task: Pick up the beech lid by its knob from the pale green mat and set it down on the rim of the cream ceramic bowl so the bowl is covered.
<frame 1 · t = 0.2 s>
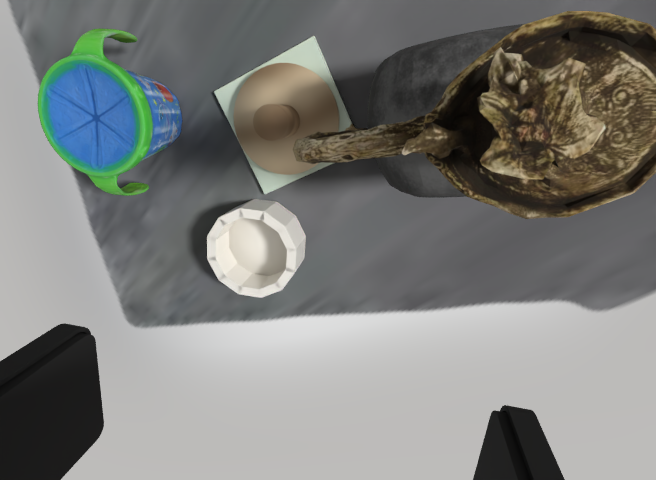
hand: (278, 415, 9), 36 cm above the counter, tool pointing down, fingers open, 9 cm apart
bowl: (263, 241, 48), on the counter
lid: (287, 120, 43), point 1 cm above the counter, touching mat
snack cup: (155, 115, 46), on the counter
mat: (289, 120, 43), on the counter
pitcher: (436, 116, 41), on the counter
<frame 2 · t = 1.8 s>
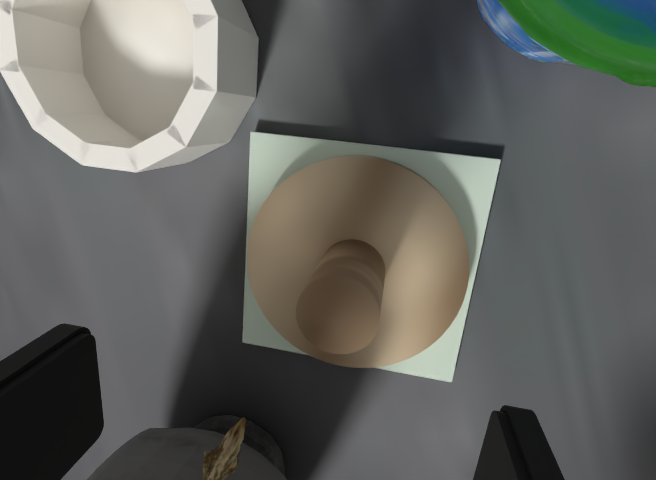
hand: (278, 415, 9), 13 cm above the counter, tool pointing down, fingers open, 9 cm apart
bowl: (163, 60, 21), on the counter
lid: (355, 262, 21), point 1 cm above the counter, touching mat
mat: (356, 258, 22), on the counter
pitcher: (242, 441, 27), on the counter
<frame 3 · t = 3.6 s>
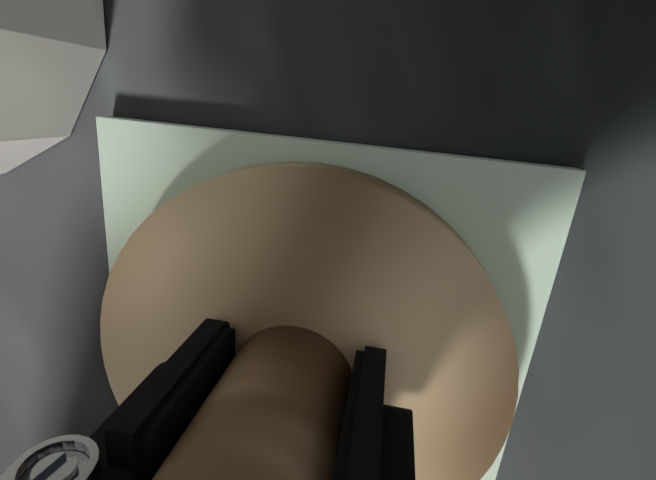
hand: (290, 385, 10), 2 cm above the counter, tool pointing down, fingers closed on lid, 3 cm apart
lid: (303, 354, 12), point 1 cm above the counter, touching gripper, mat
mat: (307, 343, 12), on the counter
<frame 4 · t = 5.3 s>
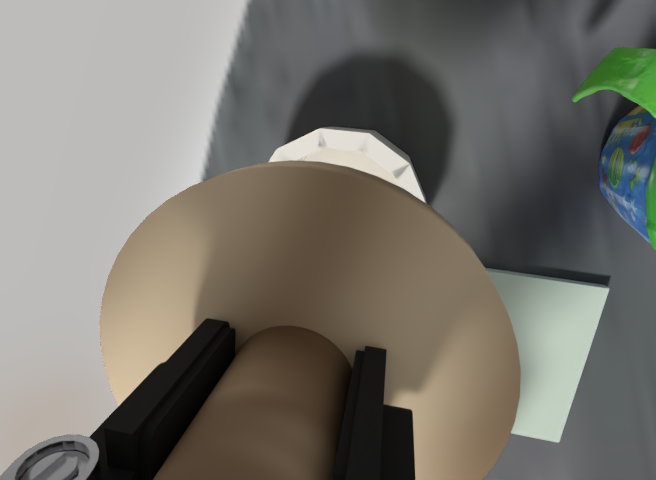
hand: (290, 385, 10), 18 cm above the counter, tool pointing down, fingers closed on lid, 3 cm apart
bowl: (346, 205, 27), on the counter
lid: (303, 354, 12), point 17 cm above the counter, touching gripper
mat: (487, 350, 29), on the counter
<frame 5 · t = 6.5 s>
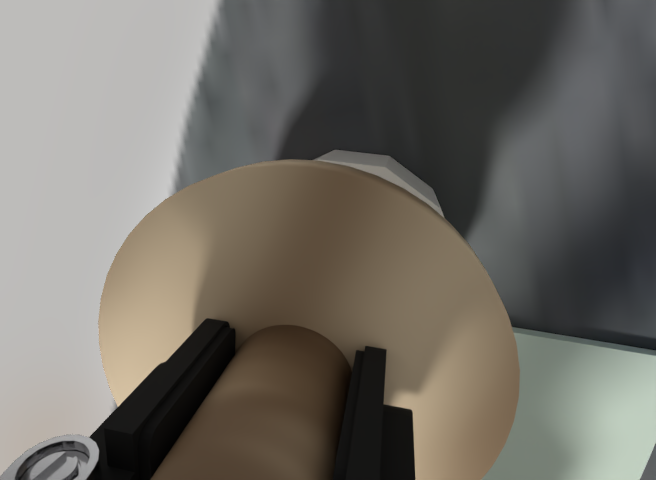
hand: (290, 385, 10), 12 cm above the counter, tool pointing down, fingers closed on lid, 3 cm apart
bowl: (350, 248, 22), on the counter
lid: (302, 353, 12), point 10 cm above the counter, touching gripper
mat: (526, 427, 23), on the counter
when the fingers open (7 cm above the counter, at t = 7.5 s): lid drops 1 cm, resting on bowl.
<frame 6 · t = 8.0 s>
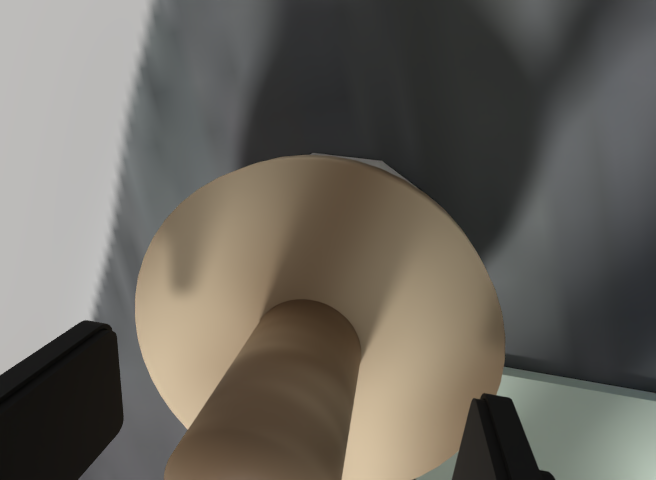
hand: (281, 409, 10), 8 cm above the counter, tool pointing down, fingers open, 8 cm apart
bowl: (334, 275, 17), on the counter, touching lid
lid: (314, 328, 13), point 4 cm above the counter, touching bowl
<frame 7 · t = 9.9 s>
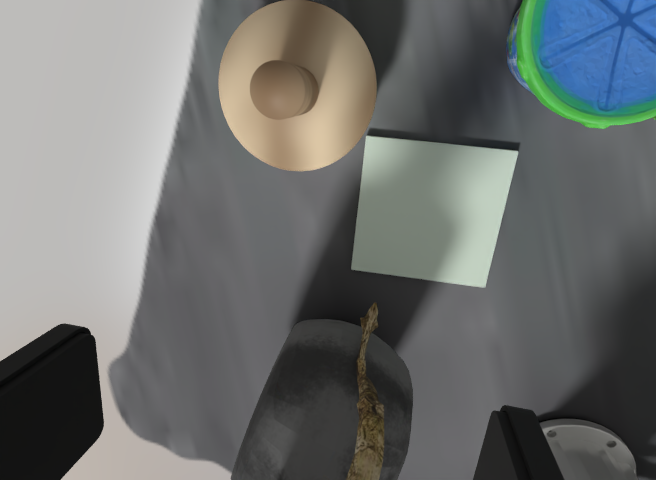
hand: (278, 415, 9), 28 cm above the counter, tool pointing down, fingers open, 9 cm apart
lid: (299, 91, 29), point 4 cm above the counter, touching bowl
snack cup: (556, 41, 30), on the counter
mat: (427, 213, 35), on the counter
pitcher: (343, 338, 41), on the counter
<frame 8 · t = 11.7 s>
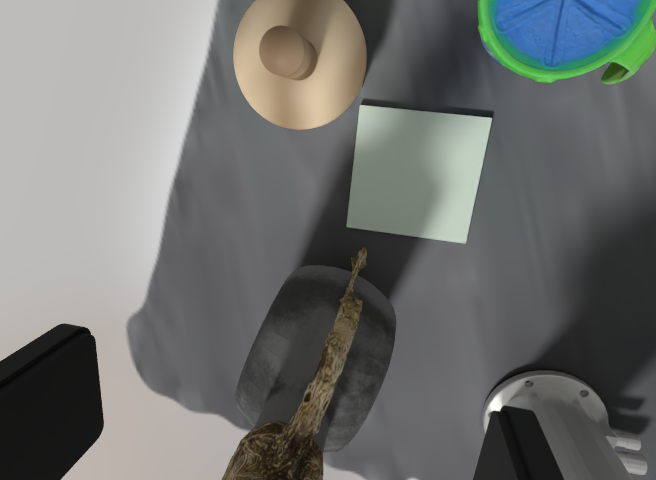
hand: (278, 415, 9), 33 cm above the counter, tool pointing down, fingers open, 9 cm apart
lid: (301, 61, 34), point 4 cm above the counter, touching bowl
snack cup: (523, 21, 35), on the counter
mat: (414, 175, 40), on the counter
pitcher: (339, 293, 45), on the counter
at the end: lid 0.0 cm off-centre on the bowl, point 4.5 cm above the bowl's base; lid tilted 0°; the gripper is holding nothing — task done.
